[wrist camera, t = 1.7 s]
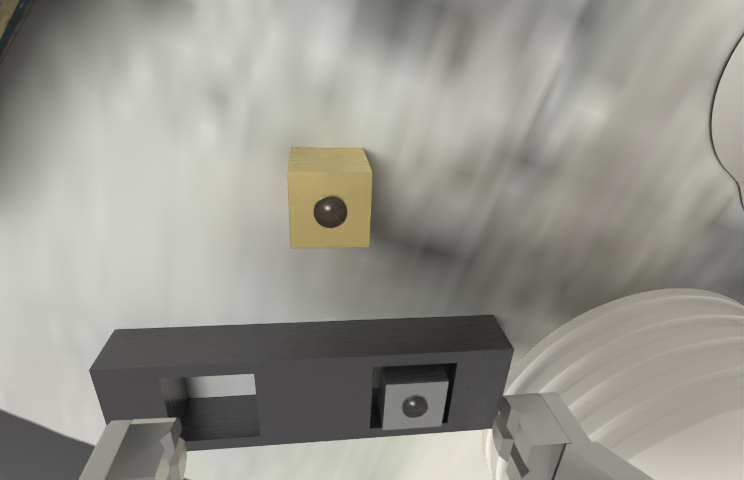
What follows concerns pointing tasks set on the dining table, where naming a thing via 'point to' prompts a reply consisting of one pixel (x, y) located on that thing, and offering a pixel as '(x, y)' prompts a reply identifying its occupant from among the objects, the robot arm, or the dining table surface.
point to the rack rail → (299, 377)
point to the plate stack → (648, 382)
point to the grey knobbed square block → (411, 395)
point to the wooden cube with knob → (329, 197)
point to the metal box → (11, 21)
